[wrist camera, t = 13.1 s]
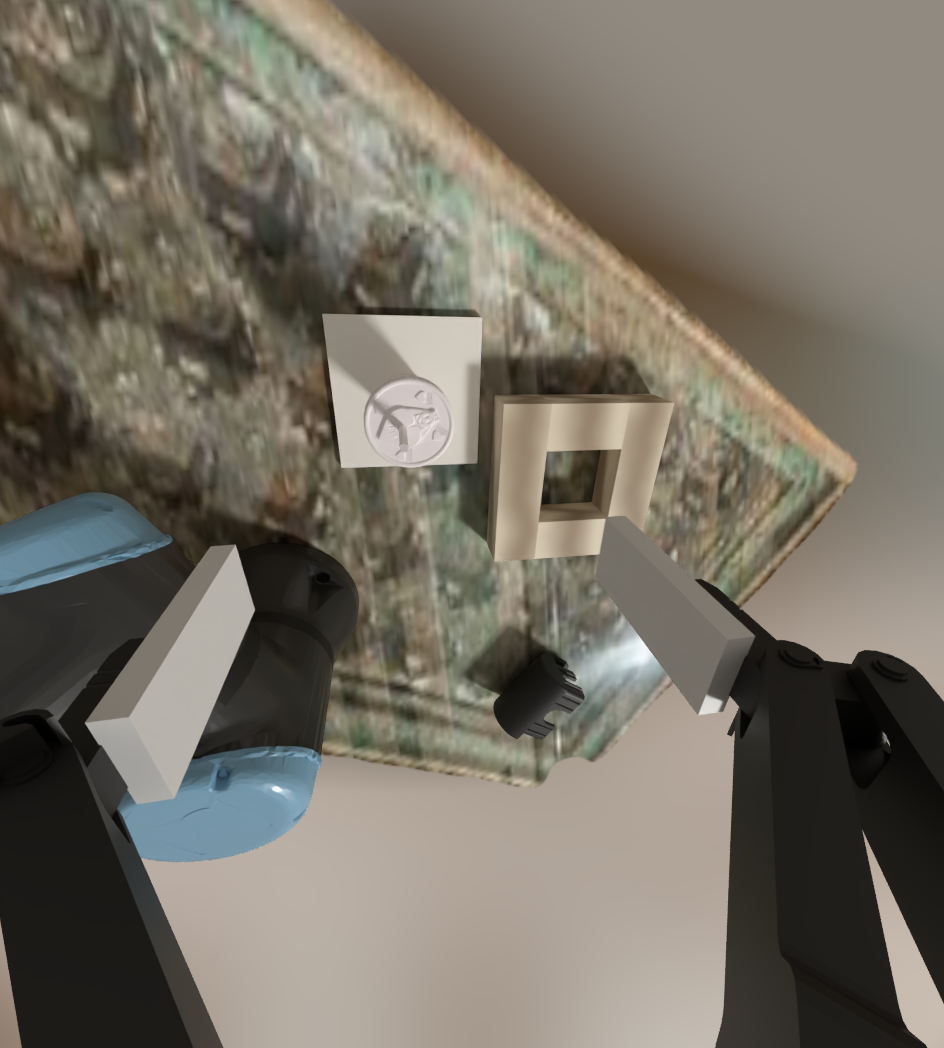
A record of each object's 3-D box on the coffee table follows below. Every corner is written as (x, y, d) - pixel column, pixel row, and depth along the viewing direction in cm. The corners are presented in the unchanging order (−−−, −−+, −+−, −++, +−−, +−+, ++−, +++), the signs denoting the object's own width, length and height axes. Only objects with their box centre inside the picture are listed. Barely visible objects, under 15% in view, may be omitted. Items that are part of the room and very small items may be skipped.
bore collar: (486, 542, 47) (494, 561, 44) (494, 394, 40) (504, 404, 36) (620, 533, 50) (637, 551, 46) (650, 393, 42) (674, 402, 39)
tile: (342, 465, 40) (341, 467, 40) (323, 313, 34) (322, 313, 34) (476, 461, 42) (477, 463, 42) (480, 317, 36) (482, 317, 36)
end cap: (533, 641, 56) (550, 682, 50) (570, 660, 59) (590, 700, 53) (487, 689, 59) (498, 733, 53) (525, 705, 62) (539, 748, 56)
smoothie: (356, 374, 36) (337, 415, 24) (425, 346, 36) (442, 373, 24) (388, 441, 39) (386, 507, 27) (452, 415, 39) (479, 470, 27)
